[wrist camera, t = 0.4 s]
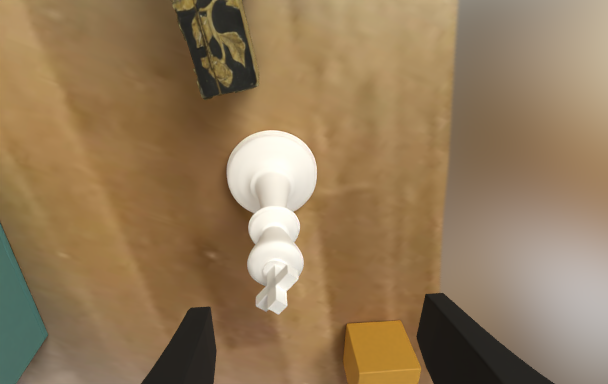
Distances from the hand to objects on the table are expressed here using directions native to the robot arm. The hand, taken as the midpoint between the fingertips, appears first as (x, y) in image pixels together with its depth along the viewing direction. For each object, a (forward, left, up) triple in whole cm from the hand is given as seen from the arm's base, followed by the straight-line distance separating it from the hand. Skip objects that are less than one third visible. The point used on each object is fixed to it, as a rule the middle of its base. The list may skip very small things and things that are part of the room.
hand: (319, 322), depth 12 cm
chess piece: (+1, +1, -10) cm, 10 cm away
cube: (-13, -6, -10) cm, 17 cm away
